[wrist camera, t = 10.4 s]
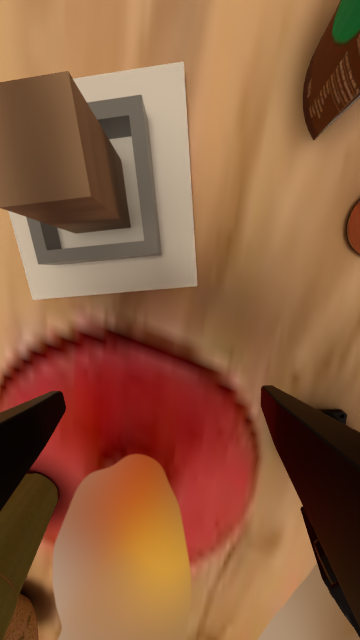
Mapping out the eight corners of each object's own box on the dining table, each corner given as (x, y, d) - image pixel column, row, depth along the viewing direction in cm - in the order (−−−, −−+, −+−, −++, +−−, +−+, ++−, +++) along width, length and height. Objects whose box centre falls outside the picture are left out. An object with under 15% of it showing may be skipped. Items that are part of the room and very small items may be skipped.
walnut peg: (121, 160, 15) (68, 71, 8) (130, 227, 16) (90, 196, 10) (62, 168, 16) (-35, 88, 9) (75, 233, 17) (-1, 207, 10)
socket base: (183, 75, 15) (182, 26, 12) (197, 285, 18) (198, 288, 16) (-11, 104, 16) (-57, 66, 13) (40, 298, 19) (14, 303, 17)
